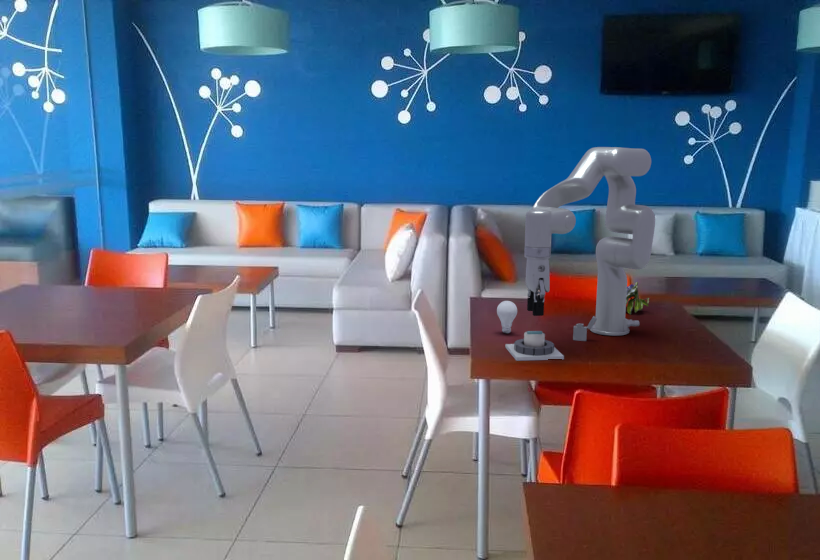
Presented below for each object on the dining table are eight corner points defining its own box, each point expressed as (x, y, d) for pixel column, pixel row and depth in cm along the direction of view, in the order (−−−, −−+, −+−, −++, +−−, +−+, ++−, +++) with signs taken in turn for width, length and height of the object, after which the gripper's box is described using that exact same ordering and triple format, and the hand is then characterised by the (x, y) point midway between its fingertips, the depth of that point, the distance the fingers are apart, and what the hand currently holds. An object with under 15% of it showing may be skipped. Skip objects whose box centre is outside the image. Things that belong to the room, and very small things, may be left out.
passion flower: (617, 325, 277) (610, 293, 283) (650, 320, 275) (643, 288, 281) (618, 313, 266) (611, 279, 272) (653, 308, 264) (645, 274, 270)
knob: (541, 346, 222) (541, 328, 221) (546, 352, 216) (547, 333, 215) (521, 347, 221) (522, 329, 220) (526, 353, 215) (527, 334, 214)
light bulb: (515, 336, 237) (516, 303, 235) (495, 335, 238) (496, 302, 236) (517, 331, 244) (518, 299, 241) (497, 330, 245) (497, 298, 243)
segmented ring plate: (549, 346, 226) (550, 336, 226) (563, 359, 213) (564, 349, 212) (505, 347, 225) (505, 337, 224) (516, 360, 211) (516, 350, 211)
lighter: (572, 340, 234) (574, 315, 232) (573, 338, 235) (574, 314, 234) (595, 341, 232) (597, 317, 230) (595, 340, 233) (597, 315, 232)
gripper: (558, 256, 205) (556, 319, 209) (542, 248, 222) (539, 306, 225) (532, 257, 204) (530, 320, 208) (517, 248, 221) (515, 307, 225)
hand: (535, 312), depth 216 cm, fingers open, 5 cm apart
